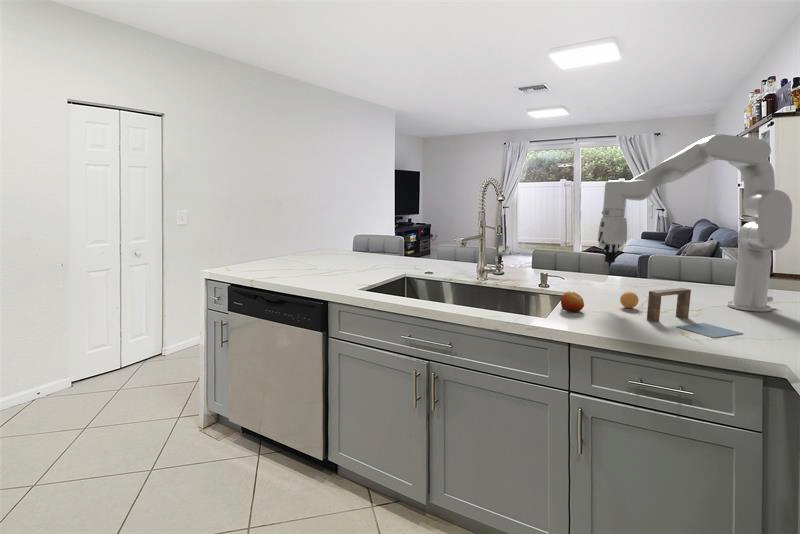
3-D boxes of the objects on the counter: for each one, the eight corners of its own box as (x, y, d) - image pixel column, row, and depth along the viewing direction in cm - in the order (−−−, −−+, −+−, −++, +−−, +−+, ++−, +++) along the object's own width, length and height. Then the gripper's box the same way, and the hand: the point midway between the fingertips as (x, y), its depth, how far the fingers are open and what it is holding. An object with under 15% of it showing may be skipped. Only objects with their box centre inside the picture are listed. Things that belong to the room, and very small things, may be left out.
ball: (628, 305, 167) (629, 289, 167) (641, 309, 162) (643, 292, 161) (615, 306, 165) (617, 290, 165) (628, 310, 160) (630, 294, 159)
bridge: (646, 319, 148) (649, 291, 146) (680, 315, 153) (682, 287, 151) (654, 322, 145) (657, 292, 143) (688, 317, 150) (691, 289, 148)
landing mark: (703, 323, 143) (703, 322, 143) (743, 333, 132) (743, 333, 132) (676, 327, 139) (676, 326, 139) (714, 338, 128) (714, 337, 128)
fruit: (559, 303, 165) (572, 286, 162) (577, 316, 162) (590, 299, 158) (551, 307, 159) (564, 289, 156) (570, 321, 156) (583, 304, 152)
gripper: (605, 214, 162) (601, 264, 165) (637, 214, 167) (632, 262, 170) (590, 213, 169) (586, 261, 172) (621, 213, 174) (617, 260, 177)
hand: (609, 262), depth 171 cm, fingers closed
